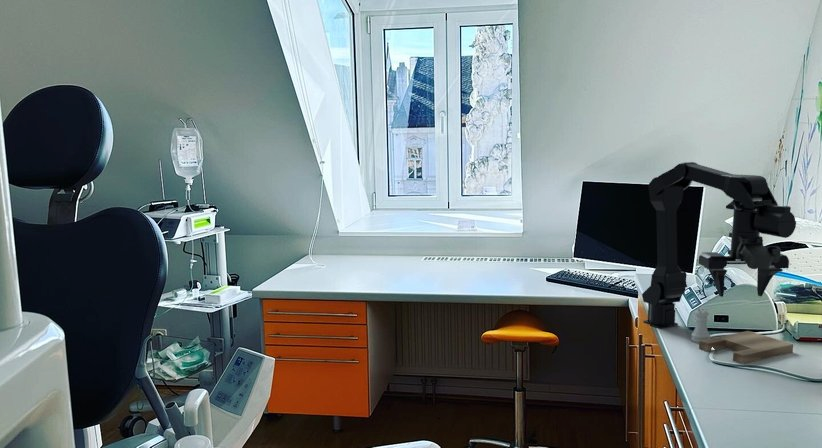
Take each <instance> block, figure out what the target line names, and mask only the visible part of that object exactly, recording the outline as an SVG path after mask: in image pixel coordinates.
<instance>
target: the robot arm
mask: <svg viewBox="0 0 822 448" xmlns="http://www.w3.org/2000/svg"><path fill="white" fill-rule="evenodd" d="M693 182H695V183H697V184H700V185H704V186H708V187H709V188H714V189H717V190H720V191H722V192H723V193H724V194H725V195H726V196H727V197H729V198H730V199H732V200H731V202H729V203H727V204H726V206H725V209H727V210H733V213H732V214H733V216H732V217H733V219H732V229H731V232H728V237H729V238H731V239H730V240H731V241H730V242H731V243H730V249H727V255H723V254H721V253H718V252H715V251H714V252H712V251H709V252H708V251H707V252H706V251H705V252H701V253H700V255H699V256H698V264H699V265H700V266H703V268H704V269H707V270H708V271H709V273H710V275H711V278H712V280H713V282H714V285H715V288H716V290H717V293H718V296H719V297H721V298H723V297H724V293H725V278H726V277H725V276H726V274H727V273H728V270H727V269H725V268H726V266H727V265H746V266H747V267H748V268H749V269H751V270H757V281H756V282H757V284H756V286H757V287H756V291H757V296H758V297H763V294H764V293H765V291H766V289H767V287H768V285H769V283H770V281H771V280H772V278H773V277H774V276H775V275H776V274H778V273H781V272H783V271H784V270H783V269H789V267H790V259H789V257H788V256H787V255H786V254H783V253H781V252H782V251H781V248H780V247H779V246H777V245H776V246H775V245H773V246H772V245H770V246H764V244H763V243H764V239H763V236H760V234H762V235H768V236H772V237H773V236H774V237H779V238H784V239H787V238H789V237H791V236H792V235H793V233H794V232H795V229H796V228H797V221H796V218H795V215H794V213H793V212H791V209H792V208H791V206H790V205H789V206H788V205H779V204H778V202H777V200H776V199H775V197H774V194H773V193H772V191H771V189H770V188H769V184H768V182H767V178H765V177H764V176H763V175H755V174H754V175H753V174H735V173H729V172H727V171H723V170H719V169H715V168H712V167H710V166H709V167H708V166H705V165H701V164H699V163H697V162H695V161H694V162H693V161H688V162H680V163H678V164H677V165H675V166H674V167H673V168H671V169H669V170H667V171H665V172H663V173H662V174H660V175H658V176H657V177H653V178H652V180H651V181H650V182H649V183H648V195H649V201H650V203H651V205H652V206H653V208H654V209H655V211H656V212H655V213H656V255H657V257H656V258H657V259H656V261H657V264H656V267H655V268H654V271H653V273H652V274H651V280H650V286H649V287H648V288H647V289H645V290H644V291H643V292H642V294H641V296H642V302H644V303H646V304H648V305H647V306H648V308H647V319H646V320H645V319H644V320H643V323H644V324H645V325H649V326H653V327H655V328H657V329H658V328H659V329H666V328H670V327H671V328H672V327H676V326H679V323H678V322H675V321H676V309H675V305H676V303H680V302H681V300H682V296H683V295H684V294H685V291H686V288H688V284H687V272H686V271H682V269H680V268H681V267H679V265H678V229H677V228H678V227H677V226H678V225H677V224H678V222H677V221H678V220H677V216H678V215H677V211H678V208H679V207H680V205H681V203H682V201H683V199H684V198H683V196H684V191H685V190H686V189H688V187H690V186H691V184H692V183H693Z"/></svg>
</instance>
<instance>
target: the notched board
mask: <svg viewBox="0 0 822 448" xmlns="http://www.w3.org/2000/svg"><path fill="white" fill-rule="evenodd" d="M712 347H713V348H714V349H715V350H714V351H718V350H722V349H728V350H731V351H733V352H732V361H733V362H736V363H738V364H742V365H745V364H749V363H753V362H758V361H761V360H766V359H767V360H768V359H770V358H775V357H779V356H784V355H788V354H791V353H792V354H793V352H794V344H793V343H791V342H787V341H783V340H779V339H777V338H773V337H770V336H767V335H763V334H761V333H756V332H754V331H752V330H751V331H750V330H745V331H740V332H735V333H731V334H726V335H721V336H715V337H710V338H709V339H705V340H700V341H699V343H698V350H701V351H704V352H708V353H709V352H712V351H711V348H712Z"/></svg>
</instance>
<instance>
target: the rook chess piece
mask: <svg viewBox="0 0 822 448" xmlns="http://www.w3.org/2000/svg"><path fill="white" fill-rule="evenodd" d="M708 311H709V310H708V309H705V308H701V307H700V308H696V311H695V312H694V314H695V316H696V318H695V326H694V329H693V332H692V333H691V337H690V340H691V341H692V342H694V343H696V344H699V341H700V340H705V339H710V338H711V334H710V333H709V331H708V316H709V315H710V313H709V312H708Z"/></svg>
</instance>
